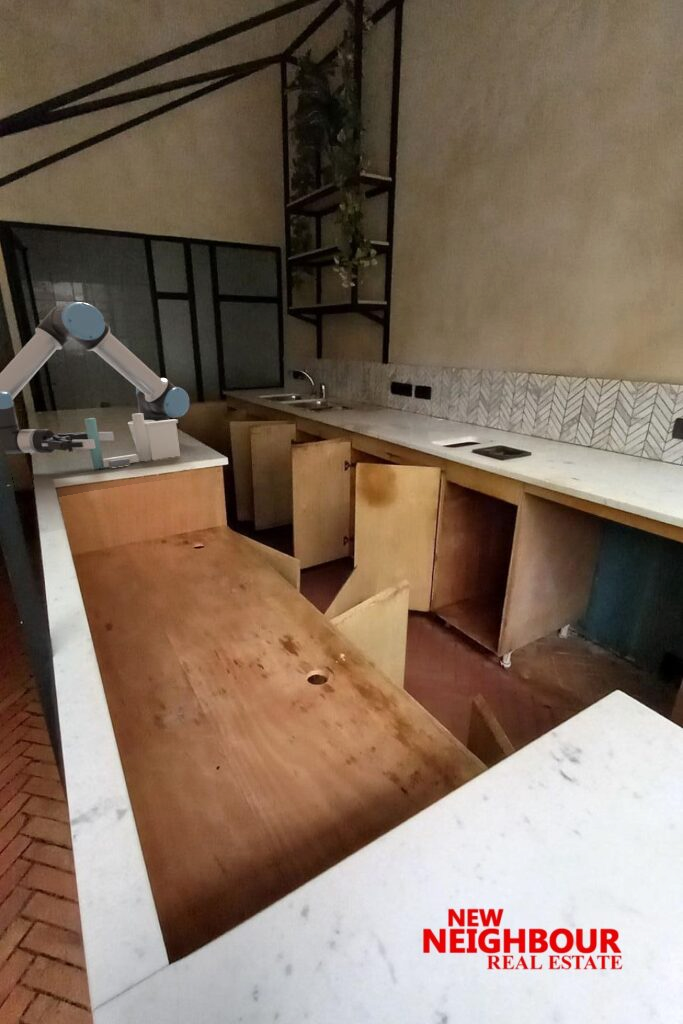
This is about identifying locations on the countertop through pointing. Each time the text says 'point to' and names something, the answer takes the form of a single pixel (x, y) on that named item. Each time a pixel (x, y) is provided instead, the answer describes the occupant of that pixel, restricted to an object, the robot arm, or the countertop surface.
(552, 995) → the countertop surface
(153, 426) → the fence stub
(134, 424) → the gate
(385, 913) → the countertop surface
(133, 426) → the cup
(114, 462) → the latch block
